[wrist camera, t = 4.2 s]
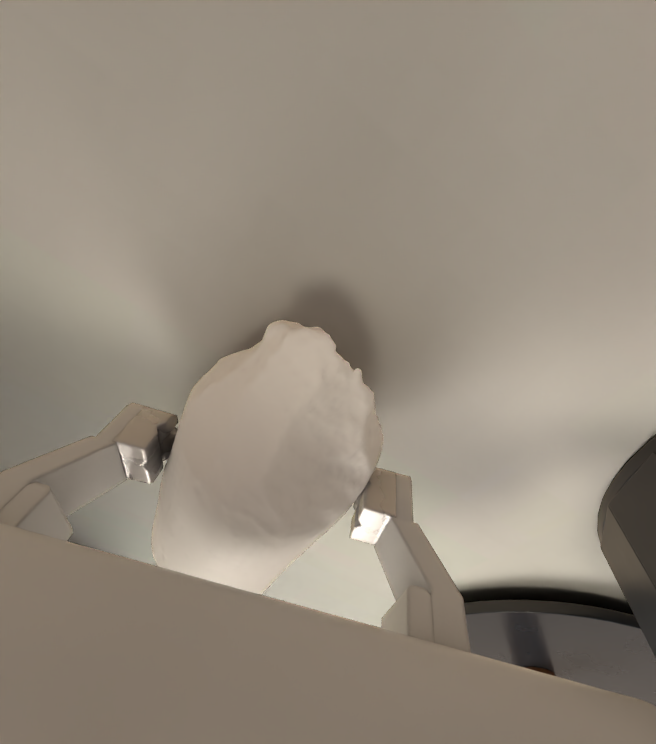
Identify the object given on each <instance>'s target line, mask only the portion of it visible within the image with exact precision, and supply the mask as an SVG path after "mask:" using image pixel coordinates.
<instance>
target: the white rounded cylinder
mask: <svg viewBox="0 0 656 744" xmlns="http://www.w3.org/2000/svg"><path fill="white" fill-rule="evenodd" d="M335 349H336V345H335V343H334V342H333V340H332V339H331V337H330V335H329V334H327V333H325V332H324V331H323V329H321V328H320V327H304V326H302V325H300V324H299V323H296V322H289V321H286V320H280V321H275V322H273V323H271V324H269V326H268V327H267V329H266V332H265V334H264V337H263V339H262V341H260V342H259V343H257V344H256V345H255V346H253V347H252V348H250V349H245V350H242V351H239V352H235V353H233V354H231V355H229V356H226V357H223V358H221V359H220V360H218V362H217V363H216V365H215V366H214V367H213V368H212V369H211V370H210V371H209V372H207V373H206V374H205V375H204V376H203V377H202V378H201V379H200V380H199V381H198V382H197V383H196V384H195V385H194V387H193V388H192V390H191V392H190V394H189V397H188V399H187V402H186V405H185V407H184V410H183V414H182V417H181V419H180V423H179V427H178V430H177V433H176V436H175V440H174V443H173V446H172V450H171V452H170V455H169V458H168V460H167V463H166V465H165V469H164V472H163V475H162V480H161V486H160V491H159V499H158V505H157V509H156V514H155V517H154V524H153V527H152V536H151V546H152V553H153V558H154V560H155V561H156V564H157V566H158V567H162V568H166V569H169V570H173V571H177V572H180V573H184V574H187V575H191V576H195V577H198V578H202V579H206V580H209V581H213V582H216V583H220V584H224V585H227V586H231V587H235V588H238V589H242V590H245V591H249V592H253V593H256V594H262V593H263V592H264V591H265V590H266V589H267V588H268V587H269V586H270V585H271V584H272V583H273V582H274V581H275V579H276V578H277V577H278V576H279V575H280V574H281V573H282V572H283V571H284V570H285V569H286V568H287V567H288V566H289V565H290V564H291V563H292V562H293V561H294V560H296V559H297V558H298V557H299V556H300V555H302V554H303V553H304V552H305V550H307V549H308V548H309V547H310V546H311V545H312V544H313V543H314V542H315V541H316V540H317V539H318V538H320V537H321V536H322V535H324V534H325V533H326V532H327V531H328V530H329V529H330V528H331V527H332V526H333V525H334V524H335V523H336V522H337V521H338V520H339V519H340V518H341V517H342V516H343V515H344V514H345V513H346V512H347V511H348V510H349V508H350V507H351V506H352V504H353V503H354V502H355V500H356V499H357V497H358V496H359V495H360V493H361V492H362V491H363V489H364V488H365V486H366V484H367V483H368V481H369V479H370V477H371V475H372V473H373V472H374V470H375V468H376V465H377V463H378V460H379V457H380V454H381V450H382V445H383V434H382V427H381V425H380V424H379V422H378V417H377V416H376V414H375V402H374V392H373V391H371V390H370V388H369V387H368V386H367V385H365V384H364V383H363V379H362V371H361V370H360V369H359V368H356V369H355V370H353V369H352V368H351V367H350V363H349V362H348V361H345V360H344V359H343V358H342V357H341V356H340V355H339V354H337V352H336V350H335Z"/></svg>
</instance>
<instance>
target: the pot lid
mask: <svg viewBox="0 0 656 744" xmlns="http://www.w3.org/2000/svg"><path fill="white" fill-rule="evenodd" d="M464 608H465V615H466V622H467V629H468V636H469V643H470V650H471V653H473V654H477V655H481V656H484V657H488V658H491V659H495V660H499V661H502V662H506V663H510V664H513V665H517V666H520V667H524V668H528V669H531V670H535V671H538V672H542V673H546V674H549V675H553V676H557V677H560V678H564V679H567V680H571V681H575V682H578V683H582V684H585V685H589V686H593V687H596V688H600V689H603V690H607V691H611V692H615V693H618V694H622V695H626V696H630V697H633V698H637V699H640V700H643V701H646V702H648V703H650V704H653V705H655V706H656V658H655V656H654V654H653V652H652V650H651V648H650V646H649V644H648V642H647V640H646V638H645V636H644V634H643V632H642V630H641V628H640V626H639V624H638V622H637V620H636V618H635V616H634V615H632V614H628V613H623V612H619V611H615V610H610V609H606V608H600V607H594V606H588V605H582V604H574V603H565V602H556V601H541V600H489V601H477V602H467V603H464Z"/></svg>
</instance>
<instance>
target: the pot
mask: <svg viewBox="0 0 656 744" xmlns="http://www.w3.org/2000/svg"><path fill="white" fill-rule="evenodd" d="M597 531H598V535H599V539H600V543H601V550H602V552H603V554H604V556H605V558H606V560H607V562H608V564H609V566H610V568H611V570H612V572H613V574H614V576H615V578H616V580H617V582H618V584H619V586H620V588H621V590H622V592H623V594H624V596H625V598H626V600H627V602H628V604H629V606H630V608H631V610H632V612H633V614H634V616H635V618H636V620H637V622H638V624H639V626H640V628H641V630H642V632H643V634H644V636H645V638H646V640H647V642H648V644H649V646H650V648H651V650H652V652H653V654H654V656H655V658H656V436H655V437H654V438H652V439H651V440H650V441H649V442H647V443H646V444H645V445H644V446H643V447H642V448H641V449H640V450H639V451H638V452H637V453H636V454H635V455H634V456H633V457H632V458H631V459H630V460H629V461H628V462H627V463H626V464H625V466H624V467H623V468H622V469H621V471H620V472H619V473H618V474H617V476H616V477H615V478H614V480H613V481H612V482H611V484H610V486H609V488H608V490H607V492H606V494H605V495H604V497H603V499H602V503H601V506H600V510H599V513H598V530H597Z"/></svg>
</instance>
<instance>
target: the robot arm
mask: <svg viewBox="0 0 656 744" xmlns="http://www.w3.org/2000/svg"><path fill="white" fill-rule="evenodd" d="M177 423H178V419H177V415H174V414H171V413H167V412H164V411H161V410H157V409H154V408H150V407H147V406H143V405H140V404H136V403H131V404H129V405H127V406H126V407H125V408H124V409H123V410H122V411H121V412H120V413H119V414H118V415H117V416H116V417H115V418H114V419H113V420H112V421H111V422H110V423H109V424H108V425H107V426H106V427H105V428H104V429H103V430H102V431H101V432H100V433H99V434H98V435H97V436H96V437H94V436H89V437H87V438H84V439H82V440H79V441H77V442H74V443H72V444H69V445H67V446H64V447H62V448H59V449H57V450H54V451H52V452H49V453H46V454H44V455H41V456H39V457H36V458H34V459H31V460H29V461H26V462H24V463H21V464H19V465H16V466H14V467H11V468H9V469H6V470H4V471H2V472H0V744H656V706H655V705H653V704H650V703H648V702H646V701H643V700H640V699H637V698H633V697H630V696H626V695H622V694H618V693H615V692H611V691H607V690H603V689H600V688H596V687H593V686H589V685H585V684H582V683H578V682H575V681H571V680H567V679H564V678H560V677H557V676H553V675H549V674H546V673H542V672H538V671H535V670H531V669H528V668H524V667H520V666H517V665H513V664H510V663H506V662H502V661H499V660H495V659H491V658H488V657H484V656H481V655H477V654H473V653H471V650H470V643H469V636H468V629H467V622H466V615H465V608H464V600H463V597H462V595H461V594H460V592H459V590H458V589H457V587H456V585H455V584H454V582H453V580H452V579H451V577H450V576H449V574H448V572H447V571H446V569H445V567H444V566H443V564H442V562H441V561H440V559H439V558H438V556H437V554H436V553H435V551H434V549H433V548H432V546H431V544H430V543H429V541H428V540H427V538H426V536H425V535H424V533H423V531H422V530H421V528H420V526H419V525H418V524H417V523H414V522H413V503H412V481H411V478H410V477H409V476H406V475H402V474H398V473H395V472H392V471H388V470H384V469H380V468H375V470H374V472H373V473H372V475H371V477H370V479H369V481H368V483H367V484H366V486H365V488H364V489H363V491H362V492H361V493H360V495H359V496H358V497H357V499H356V500H355V502H354V504H353V507H354V509H355V513H354V515H353V517H352V521H351V530H350V538H351V539H355V540H358V541H361V542H365V543H368V544H371V545H375V546H374V548H375V550H376V553H377V555H378V558H379V560H380V563H381V565H382V568H383V570H384V572H385V575H386V577H387V580H388V582H389V585H390V587H391V590H392V592H393V595H394V597H395V600H396V602H395V603H394V605H393V606H392V607H391V608H390V609H389V610H388V611H387V613H386V614H385V615H384V616H383V617H382V622H381V628H379V627H376V626H372V625H368V624H365V623H361V622H358V621H354V620H350V619H347V618H343V617H340V616H336V615H332V614H329V613H325V612H321V611H318V610H314V609H311V608H307V607H303V606H300V605H296V604H293V603H289V602H285V601H282V600H278V599H274V598H271V597H267V596H264V595H260V594H256V593H253V592H249V591H245V590H242V589H238V588H235V587H231V586H227V585H224V584H220V583H216V582H213V581H209V580H206V579H202V578H198V577H195V576H191V575H187V574H184V573H180V572H177V571H173V570H169V569H166V568H162V567H158V566H155V565H151V564H148V563H144V562H140V561H137V560H133V559H129V558H126V557H122V556H119V555H115V554H111V553H108V552H104V551H100V550H97V549H93V548H90V547H86V546H82V545H79V544H75V543H71V542H68V541H67V540H68V539H69V538H70V536H71V535H72V534H73V529H72V527H71V525H70V523H69V521H68V520H67V518H66V517H67V516H68V515H70V514H72V513H73V512H75V511H77V510H78V509H80V508H81V507H83V506H85V505H86V504H88V503H90V502H91V501H93V500H95V499H96V498H98V497H99V496H101V495H103V494H104V493H106V492H108V491H109V490H111V489H112V488H114V487H116V486H117V485H119V484H121V483H122V482H124V481H125V480H127V479H126V478H128V479H132V480H136V481H140V482H144V483H148V484H152V483H153V482H154V480H155V479H156V478H157V476H158V475H159V473H160V472H161V470H162V469H163V461H164V460H166V459H168V458H169V455H170V452H171V450H172V446H173V443H174V440H175V436H176V433H177V430H178V429H177V428H176V427H175V426H176V424H177Z"/></svg>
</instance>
